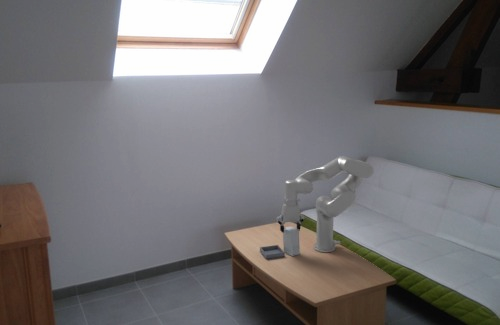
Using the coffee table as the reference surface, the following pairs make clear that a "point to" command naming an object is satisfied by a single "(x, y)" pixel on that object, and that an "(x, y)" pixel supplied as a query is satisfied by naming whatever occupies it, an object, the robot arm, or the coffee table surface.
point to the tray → (272, 252)
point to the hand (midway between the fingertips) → (290, 231)
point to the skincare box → (291, 241)
